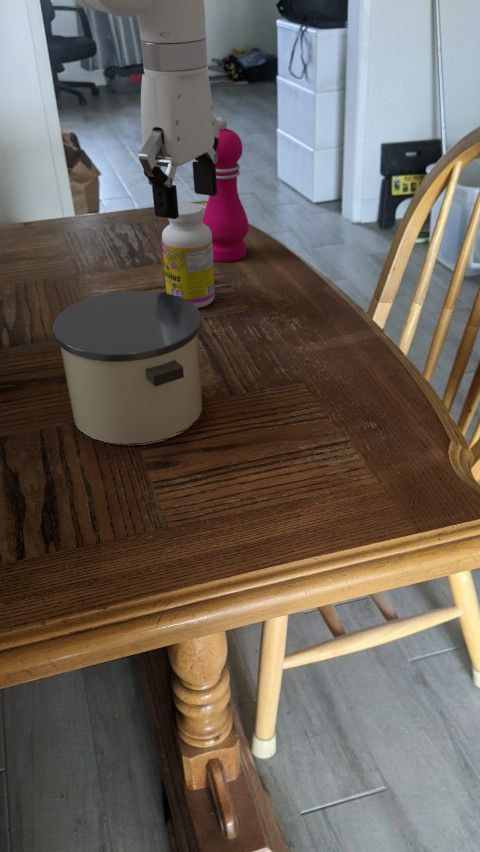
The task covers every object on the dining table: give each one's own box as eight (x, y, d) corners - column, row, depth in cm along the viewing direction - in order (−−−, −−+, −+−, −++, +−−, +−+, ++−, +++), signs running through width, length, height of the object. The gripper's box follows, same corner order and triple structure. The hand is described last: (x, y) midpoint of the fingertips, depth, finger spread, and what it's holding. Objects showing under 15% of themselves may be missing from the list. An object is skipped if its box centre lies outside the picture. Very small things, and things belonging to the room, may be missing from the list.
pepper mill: (194, 259, 121) (185, 120, 109) (216, 243, 126) (210, 109, 114) (235, 266, 118) (231, 125, 106) (256, 250, 124) (254, 114, 112)
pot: (109, 471, 77) (93, 374, 70) (45, 397, 88) (27, 308, 81) (236, 424, 83) (233, 332, 77) (162, 361, 94) (154, 276, 88)
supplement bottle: (160, 296, 110) (152, 203, 102) (204, 287, 112) (199, 196, 104) (177, 314, 105) (169, 219, 97) (222, 305, 107) (218, 211, 100)
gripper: (185, 43, 98) (195, 183, 108) (104, 67, 86) (124, 222, 96) (238, 46, 95) (243, 189, 106) (162, 72, 83) (177, 231, 93)
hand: (187, 205), depth 101 cm, fingers open, 9 cm apart
